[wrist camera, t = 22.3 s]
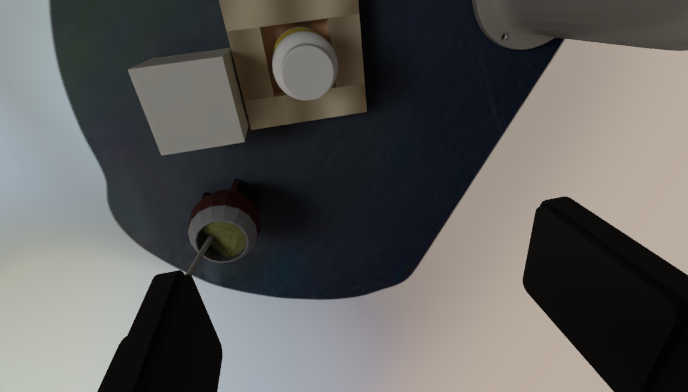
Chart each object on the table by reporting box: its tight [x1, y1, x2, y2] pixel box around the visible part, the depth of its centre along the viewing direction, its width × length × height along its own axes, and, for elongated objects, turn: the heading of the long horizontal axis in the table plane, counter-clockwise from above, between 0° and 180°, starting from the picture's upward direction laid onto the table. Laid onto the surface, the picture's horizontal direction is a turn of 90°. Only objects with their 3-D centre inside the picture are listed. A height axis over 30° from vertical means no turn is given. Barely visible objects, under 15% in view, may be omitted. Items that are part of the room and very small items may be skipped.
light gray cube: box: [128, 48, 249, 155], centre depth 32 cm, size 7×7×7 cm
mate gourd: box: [185, 179, 260, 276], centre depth 35 cm, size 8×8×15 cm
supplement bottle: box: [272, 26, 338, 101], centre depth 30 cm, size 5×5×10 cm
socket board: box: [219, 0, 367, 130], centre depth 34 cm, size 12×12×2 cm
